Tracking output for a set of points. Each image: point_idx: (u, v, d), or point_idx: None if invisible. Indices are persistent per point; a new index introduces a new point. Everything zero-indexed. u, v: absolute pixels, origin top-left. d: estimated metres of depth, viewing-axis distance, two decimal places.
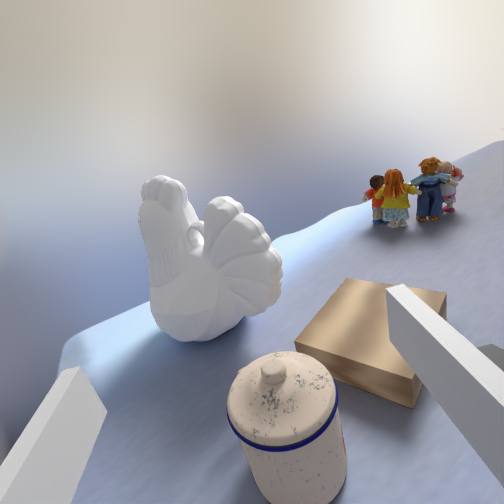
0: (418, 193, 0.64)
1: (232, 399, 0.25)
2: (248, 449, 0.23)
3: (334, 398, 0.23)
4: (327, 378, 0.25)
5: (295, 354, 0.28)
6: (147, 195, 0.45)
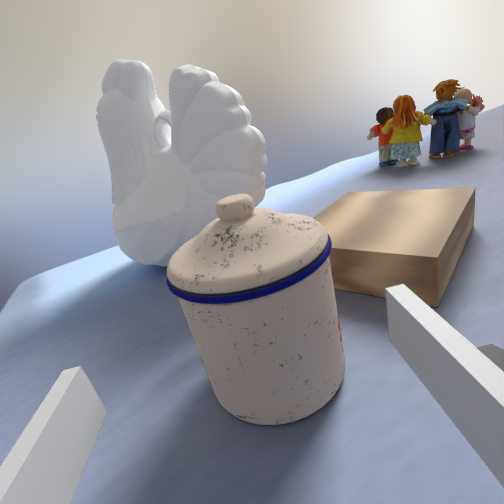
0: (432, 122, 0.56)
1: (175, 256, 0.17)
2: (192, 318, 0.15)
3: (325, 241, 0.15)
4: (316, 223, 0.17)
5: None
6: (106, 84, 0.37)
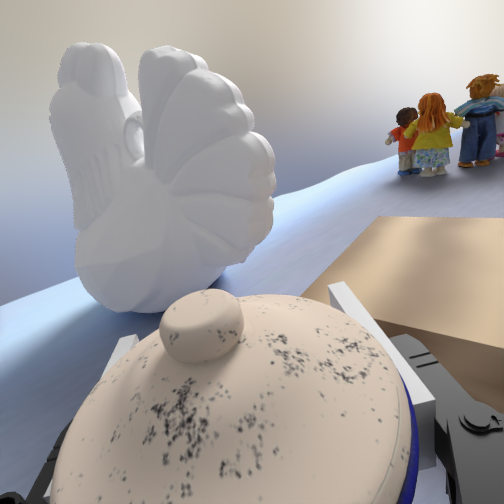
0: (465, 125, 0.47)
1: (81, 417, 0.08)
2: None
3: (407, 411, 0.07)
4: (372, 348, 0.08)
5: (278, 297, 0.11)
6: (61, 75, 0.28)
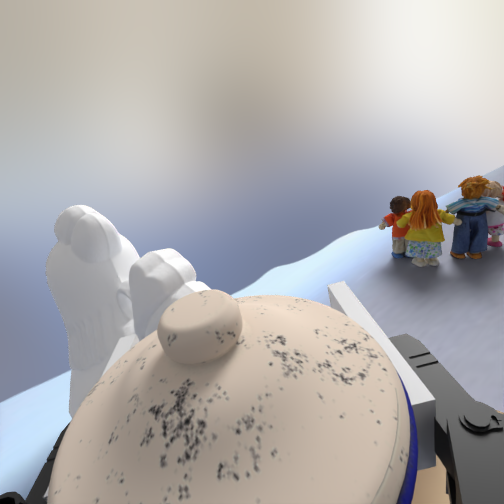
0: (457, 223, 0.48)
1: (79, 419, 0.08)
2: None
3: (406, 413, 0.07)
4: (371, 349, 0.08)
5: (277, 298, 0.11)
6: (58, 235, 0.29)
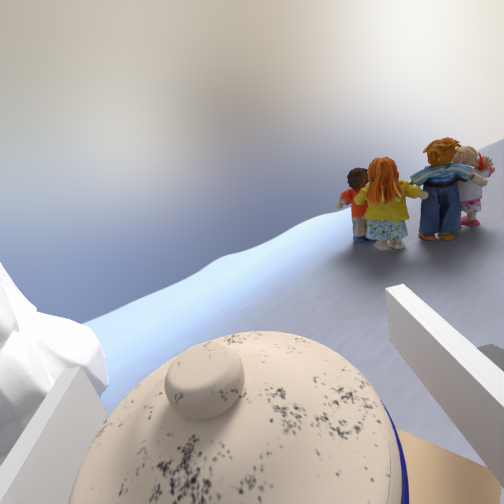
0: (422, 196, 0.40)
1: (89, 463, 0.09)
2: None
3: (398, 467, 0.07)
4: (366, 398, 0.08)
5: (277, 336, 0.12)
6: None
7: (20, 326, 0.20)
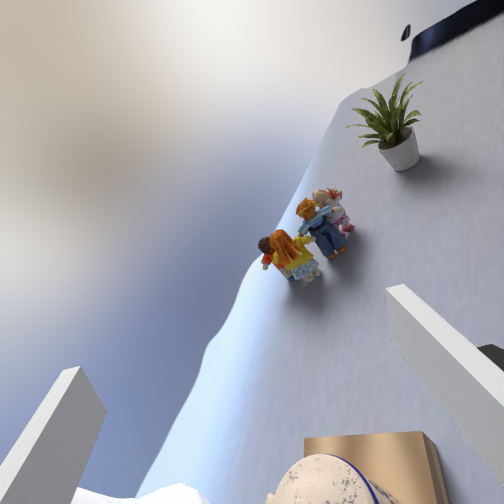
0: (313, 240, 0.56)
1: None
2: None
3: (372, 500, 0.21)
4: (352, 478, 0.23)
5: (308, 462, 0.25)
6: None
7: None
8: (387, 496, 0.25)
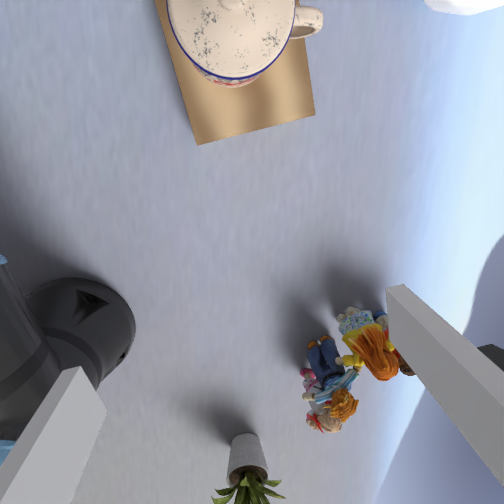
0: (338, 358, 0.42)
1: None
2: None
3: (182, 45, 0.22)
4: (201, 57, 0.22)
5: (255, 60, 0.23)
6: None
7: None
8: (201, 71, 0.27)
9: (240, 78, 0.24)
